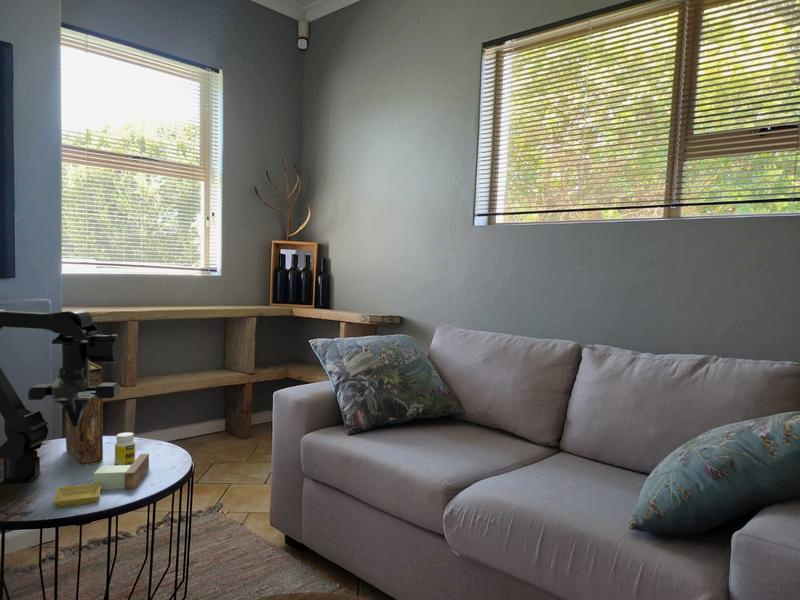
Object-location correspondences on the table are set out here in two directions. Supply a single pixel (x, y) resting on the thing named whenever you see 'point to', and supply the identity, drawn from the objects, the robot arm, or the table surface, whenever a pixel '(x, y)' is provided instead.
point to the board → (136, 471)
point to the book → (88, 426)
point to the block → (111, 476)
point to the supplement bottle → (125, 449)
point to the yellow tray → (77, 494)
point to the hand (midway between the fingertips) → (75, 426)
